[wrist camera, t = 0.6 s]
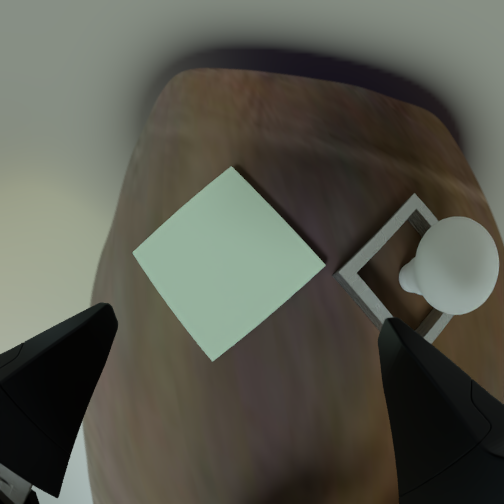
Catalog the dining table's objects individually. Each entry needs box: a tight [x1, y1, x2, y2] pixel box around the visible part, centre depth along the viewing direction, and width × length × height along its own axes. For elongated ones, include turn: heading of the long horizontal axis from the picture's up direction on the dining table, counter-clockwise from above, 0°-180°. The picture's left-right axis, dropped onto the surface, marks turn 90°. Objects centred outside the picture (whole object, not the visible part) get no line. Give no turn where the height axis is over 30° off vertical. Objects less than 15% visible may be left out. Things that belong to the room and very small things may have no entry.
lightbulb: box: [399, 217, 499, 315], centre depth 16 cm, size 6×6×11 cm
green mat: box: [133, 166, 326, 362], centre depth 23 cm, size 12×12×1 cm
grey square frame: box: [332, 193, 453, 344], centre depth 20 cm, size 10×10×2 cm
